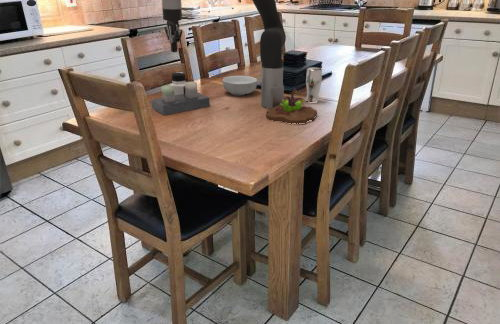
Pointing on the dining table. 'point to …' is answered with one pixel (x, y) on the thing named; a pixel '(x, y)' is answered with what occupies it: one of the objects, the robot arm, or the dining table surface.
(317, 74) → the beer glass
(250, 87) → the cereal bowl
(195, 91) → the whitish grey jar
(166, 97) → the knob
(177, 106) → the mount
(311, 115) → the plant
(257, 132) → the dining table surface
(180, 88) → the medicine bottle
